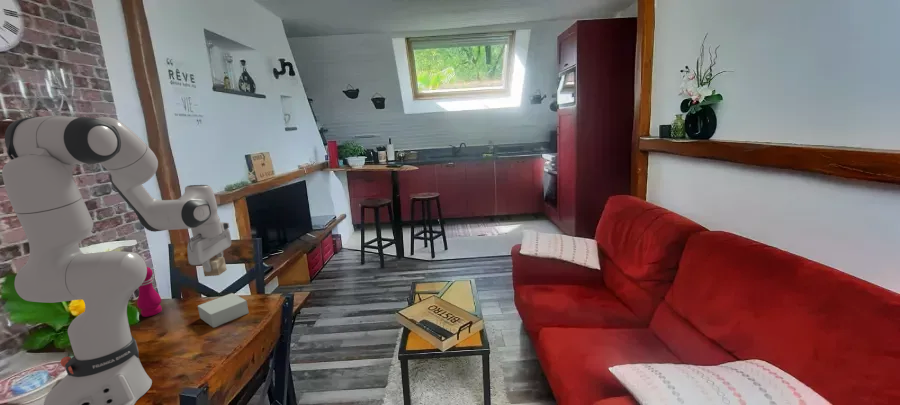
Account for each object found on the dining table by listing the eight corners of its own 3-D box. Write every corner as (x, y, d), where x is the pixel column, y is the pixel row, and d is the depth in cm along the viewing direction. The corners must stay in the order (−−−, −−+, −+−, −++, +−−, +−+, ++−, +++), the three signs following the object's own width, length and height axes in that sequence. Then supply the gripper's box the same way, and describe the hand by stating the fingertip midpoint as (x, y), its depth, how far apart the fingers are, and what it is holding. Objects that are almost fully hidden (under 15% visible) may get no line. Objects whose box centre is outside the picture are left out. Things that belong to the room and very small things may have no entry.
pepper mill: (154, 317, 144) (141, 266, 140) (135, 318, 144) (122, 267, 140) (168, 307, 151) (156, 259, 147) (150, 308, 151) (138, 260, 147)
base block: (213, 327, 133) (210, 314, 132) (200, 318, 141) (197, 305, 140) (248, 313, 142) (246, 300, 141) (234, 304, 150) (232, 292, 149)
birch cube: (219, 275, 135) (216, 262, 134) (204, 276, 135) (201, 262, 134) (226, 269, 140) (224, 256, 139) (212, 270, 140) (210, 257, 139)
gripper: (197, 238, 124) (206, 278, 127) (231, 221, 144) (238, 256, 147) (178, 240, 124) (187, 280, 127) (214, 223, 144) (221, 257, 147)
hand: (214, 267), depth 137 cm, fingers closed on birch cube, 5 cm apart
